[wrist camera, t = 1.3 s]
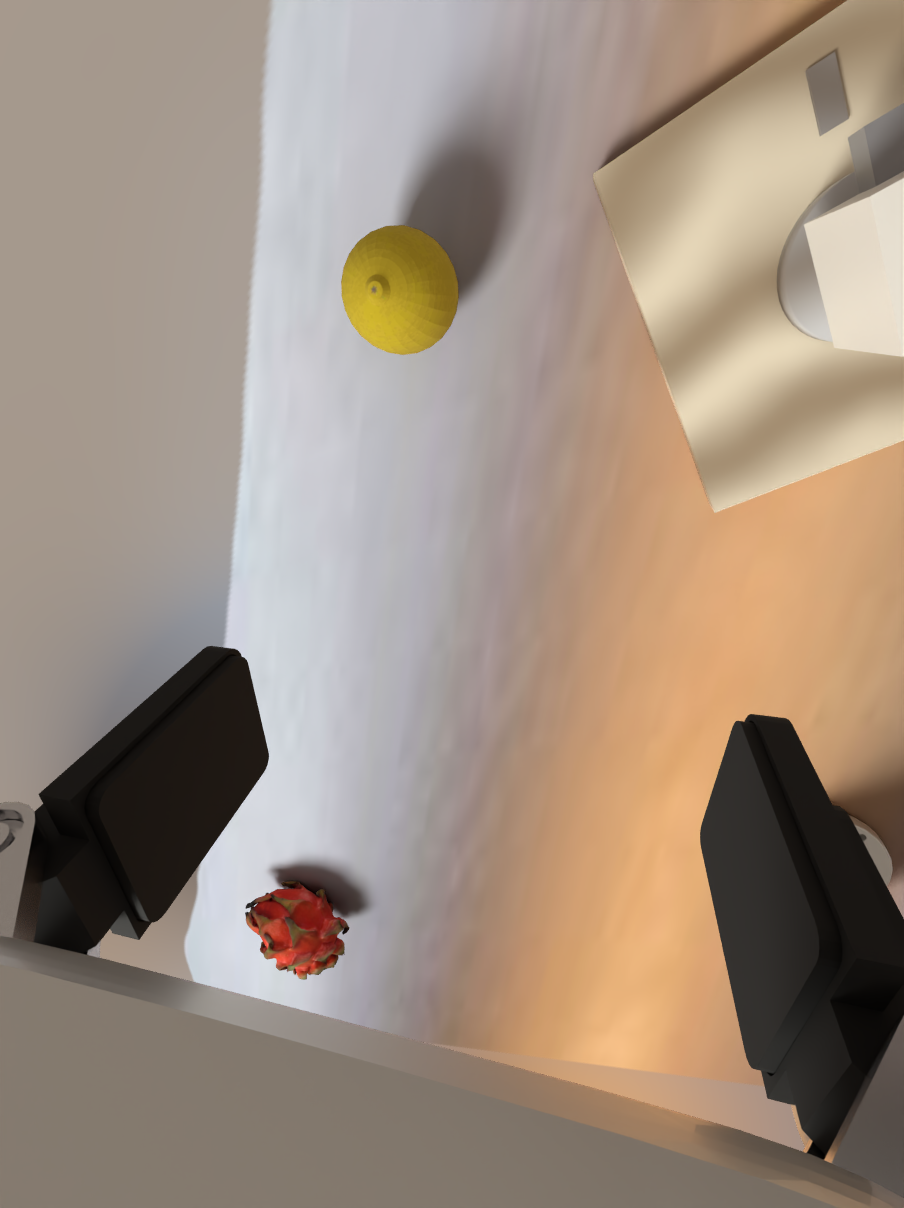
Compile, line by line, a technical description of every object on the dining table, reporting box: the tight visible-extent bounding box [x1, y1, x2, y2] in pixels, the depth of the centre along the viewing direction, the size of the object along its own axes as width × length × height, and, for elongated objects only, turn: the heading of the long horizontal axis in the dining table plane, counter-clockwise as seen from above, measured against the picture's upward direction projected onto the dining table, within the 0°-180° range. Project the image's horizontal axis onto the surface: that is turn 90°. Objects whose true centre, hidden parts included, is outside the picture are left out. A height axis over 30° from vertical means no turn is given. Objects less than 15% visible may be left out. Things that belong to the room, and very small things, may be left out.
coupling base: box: [593, 0, 904, 513], centre depth 24 cm, size 18×18×4 cm
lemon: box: [341, 225, 459, 355], centre depth 27 cm, size 6×6×8 cm
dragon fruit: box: [245, 881, 349, 979], centre depth 58 cm, size 8×8×12 cm
